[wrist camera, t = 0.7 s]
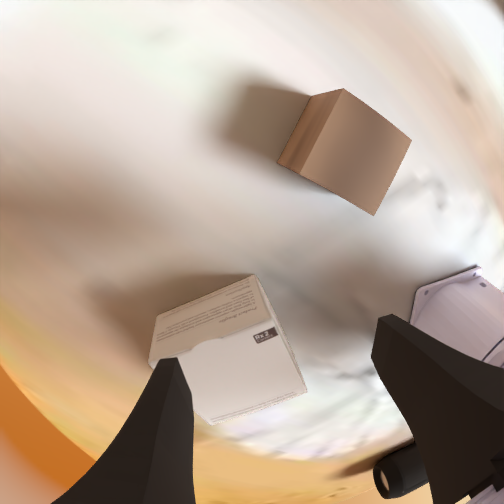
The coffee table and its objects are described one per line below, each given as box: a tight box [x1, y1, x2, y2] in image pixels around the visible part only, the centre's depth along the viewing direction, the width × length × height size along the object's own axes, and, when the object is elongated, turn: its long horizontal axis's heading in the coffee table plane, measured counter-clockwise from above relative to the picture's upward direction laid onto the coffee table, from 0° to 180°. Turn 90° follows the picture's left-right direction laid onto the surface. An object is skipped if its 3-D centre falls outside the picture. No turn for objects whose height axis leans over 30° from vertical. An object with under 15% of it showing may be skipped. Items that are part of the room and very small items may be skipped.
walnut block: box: [277, 88, 412, 216], centre depth 14 cm, size 5×5×4 cm
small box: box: [148, 275, 307, 425], centre depth 19 cm, size 8×8×5 cm
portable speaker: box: [373, 442, 429, 499], centre depth 36 cm, size 26×10×10 cm, turn 98°
